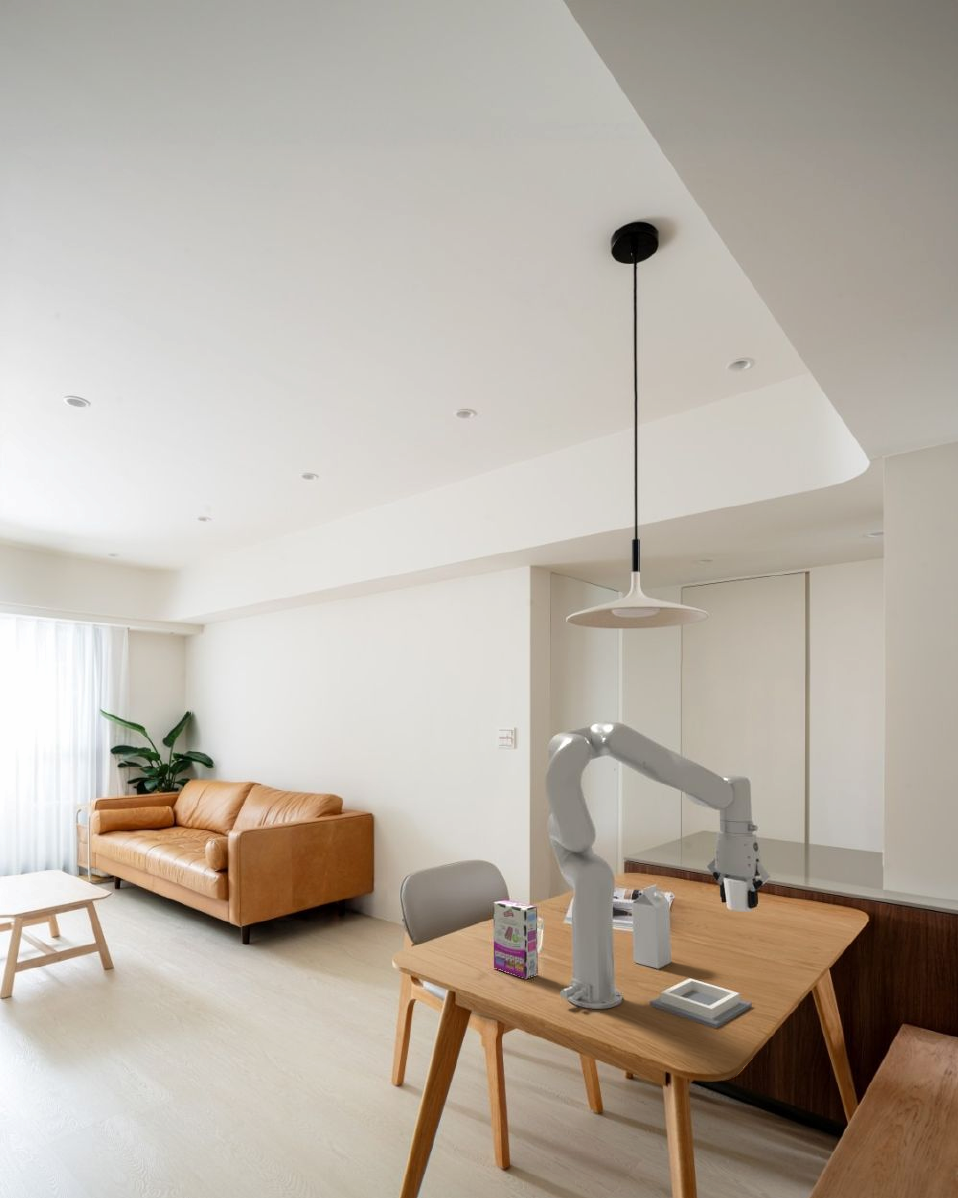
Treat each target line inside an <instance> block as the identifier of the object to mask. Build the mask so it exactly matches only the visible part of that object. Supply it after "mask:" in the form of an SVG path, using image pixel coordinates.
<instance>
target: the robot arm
mask: <svg viewBox="0 0 958 1198" xmlns="http://www.w3.org/2000/svg"><path fill="white" fill-rule="evenodd" d="M547 755H548V758H549V759H550V760H549V762H548V765H547V768H546V772H545V776H544V777H545V778H544V788H545V793H546V797H547V800H548V805H549V809H550V812H551V813H550V815H549V817H548V820H547V833H548V837H549V841H550V843H551V847H552V850H553V853H554V856H555V858H556V861H557V866H558V868H559V871H560V872H561V875H562V878H563V880H564V881H565V882H566V883H567V884H568V885H569V886H571V888H572V889H573V896H572V897H573V899H572V904H571V905H572V906H571V945H572V948H571V949H572V953H571V954H572V955H571V956H572V978H571V979H570V984H569V986H568V987H565V988H563V989H561V990H560V993H559V995H560V997H561V998H562V999H563V1000H566V999H567V1001H569V1002H570V1003H572V1004H573V1005H576V1006H578V1007H581V1008H585V1009H593V1010H602V1009H604V1010H605V1009H611V1008H615V1007H616V1006H618V1005H620V1004H621V1003H622V1001H623V996H622V992H621V991H620V990H619V989H618V988H616V986H615V985H616V983H615V982H616V981H615V979H616V978H615V950H614V949H615V948H614V942H615V941H614V917H613V915H614V909H613V908H614V896H615V887H616V883H615V882H616V880H615V875H614V871H613V869H612V867H611V865H610V864H609V863H608V862H607V861H606V860H605V859H604V858H602V857H601V856H599V855H598V854H596V853H595V852H594V849H593V845H594V843H595V840H596V835H597V834H596V828H595V825H594V822H593V819H592V817H591V814H590V810H589V808H588V804H587V802H586V799H585V795H584V792H583V789H582V788H583V787H582V776H583V773H584V771H585V769H586V768H587V766H588V765H589V764H590V762H591V760H595V759H598V758H601V757H605V756H608V757H610V758H613V759H614V760H616V761H618V762H619V763H622V764H623V765H625V766H626V767H629V768H630V769H632V770H633V771H636V772H637V773H638V774H641V775H643V776H644V777H646V778H648V779H650V780H652V781H654V782H656V783H659V784H662V785H665V786H669V787H671V788H674V789H676V790H679V791H681V792H683V793H684V794H685V796H686V798H687V800H689V802H692V803H693V804H695V805H697V806H702V807H704V808H705V807H706V808H709V809H711V810H715V811H717V810H718V811H719V830H720V831H717V835H716V842H715V853H714V854H715V855H714V857H715V858H713V860H712V861H711V862H710V863H709V864H708V865H707V869H708V870H709V872H710V873H711V875H712V876H713V878H714V879H715V880H716V882H717V884H718V885H719V894H720V895H719V896H720V898H721V900H720V901H721V903H727V902H726V894H725V886H724V877H726V876H736V877H742V878H746V881H747V882H748V886H749V888H750V890H749V891H748V907H749V908H751V909H752V910H753V909H755V908H756V907H757V906H758V904H759V894H758V893H759V891H758V890H760V888H762V887H763V885H765V883H767V882H768V880H770V879H771V876H770V874H769V873H768V872H767V871H766V869H765V868H764V867H763V866H762V865H763V864H762V856H761V849H760V845H759V841H758V837H757V835H756V834H754V832H757V831H758V828H759V827H758V825H756V824H754V821H753V814H752V812H753V810H752V809H753V808H752V790H751V781H750V779H749V778H748V777H746V776H742V775H723V776H720V775H719V774H717V773H715V772H713V771H711V770H709V769H708V768H706V767H704V766H702V765H700V764H699V763H697V762H695V761H692V760H691V759H689V758H686V757H684V756H683V755H680V754H679V753H677V752H675V751H673V750H671V749H669V748H667V747H665V746H664V745H662V744H660V743H657V742H656V741H654V740H652V739H651V738H649V737H647V736H646V735H644V734H642V733H640V732H639V731H637V730H635V729H634V728H632V727H630V726H628V725H627V724H624V723H622V722H618V721H600V722H597V723H592V724H589V725H587V726H583V727H579V728H575V729H570V730H567V731H563V732H559V733H557V734H556V735H554V736H553V737H551V739H550V741H549V742H548V745H547ZM757 877H760V878H759V879H757Z"/></svg>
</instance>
